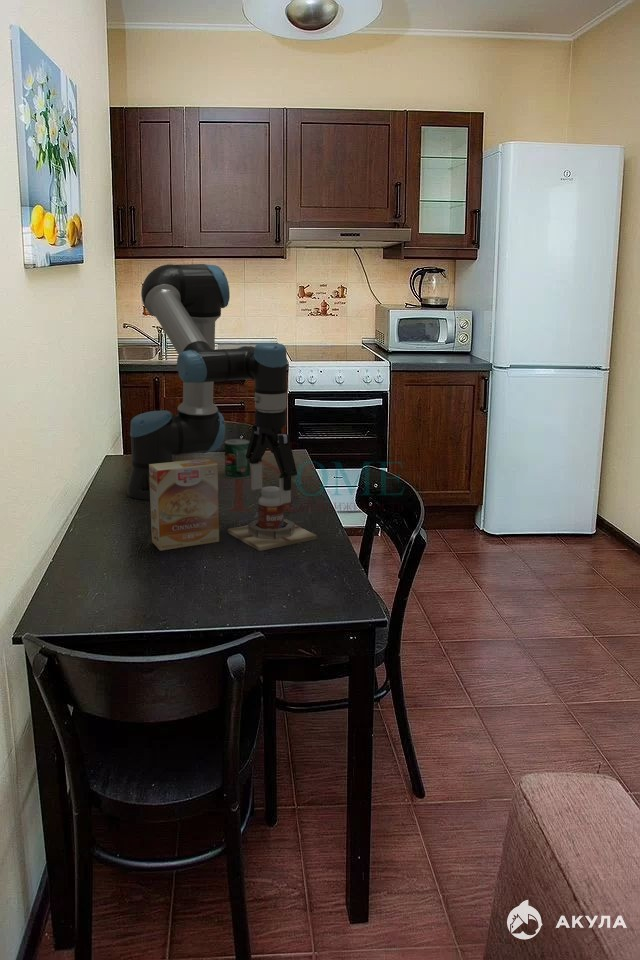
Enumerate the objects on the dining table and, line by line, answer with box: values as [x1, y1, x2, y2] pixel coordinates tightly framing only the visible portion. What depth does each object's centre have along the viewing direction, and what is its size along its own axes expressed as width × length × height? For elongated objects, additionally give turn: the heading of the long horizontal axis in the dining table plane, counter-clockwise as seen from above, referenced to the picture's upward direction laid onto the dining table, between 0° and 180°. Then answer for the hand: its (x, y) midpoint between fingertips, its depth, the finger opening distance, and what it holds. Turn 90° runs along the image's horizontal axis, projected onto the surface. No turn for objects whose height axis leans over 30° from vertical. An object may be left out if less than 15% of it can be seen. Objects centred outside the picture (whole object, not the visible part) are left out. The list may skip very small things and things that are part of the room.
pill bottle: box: [257, 485, 285, 529], centre depth 207 cm, size 6×6×11 cm
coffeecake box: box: [149, 458, 220, 551], centre depth 201 cm, size 15×7×20 cm, turn 117°
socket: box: [227, 518, 318, 552], centre depth 208 cm, size 16×16×3 cm
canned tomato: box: [223, 438, 251, 480], centre depth 264 cm, size 8×8×11 cm
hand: (270, 495), depth 206 cm, fingers open, 13 cm apart
